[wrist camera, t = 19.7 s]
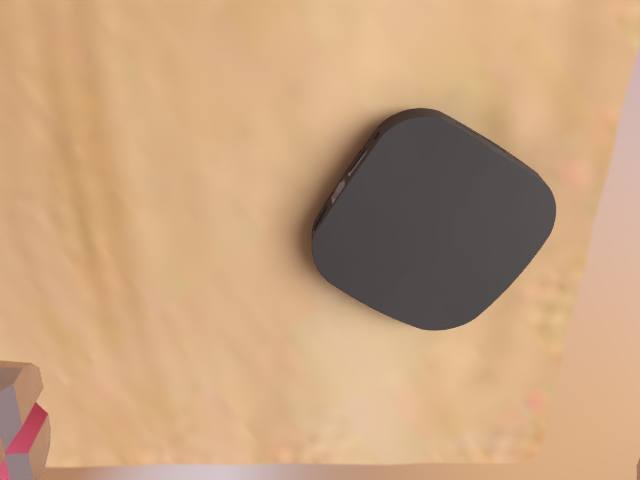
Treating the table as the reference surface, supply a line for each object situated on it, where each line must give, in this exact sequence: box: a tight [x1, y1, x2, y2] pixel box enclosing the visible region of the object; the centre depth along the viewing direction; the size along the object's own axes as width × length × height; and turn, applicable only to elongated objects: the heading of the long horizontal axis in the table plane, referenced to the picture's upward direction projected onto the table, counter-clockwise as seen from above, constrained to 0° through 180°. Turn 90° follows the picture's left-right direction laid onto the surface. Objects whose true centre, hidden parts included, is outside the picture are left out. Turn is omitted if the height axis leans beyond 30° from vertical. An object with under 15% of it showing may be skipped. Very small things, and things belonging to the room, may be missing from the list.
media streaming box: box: [312, 108, 556, 330], centre depth 44 cm, size 15×15×3 cm
